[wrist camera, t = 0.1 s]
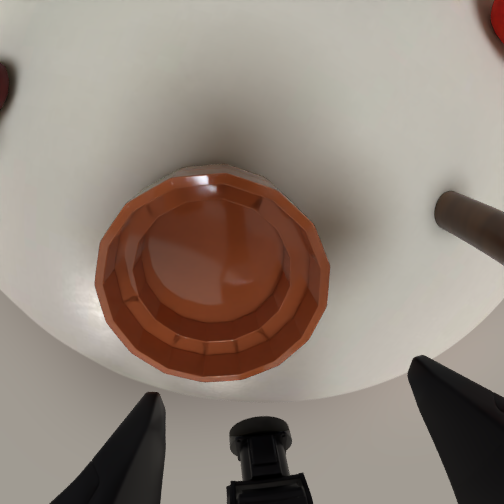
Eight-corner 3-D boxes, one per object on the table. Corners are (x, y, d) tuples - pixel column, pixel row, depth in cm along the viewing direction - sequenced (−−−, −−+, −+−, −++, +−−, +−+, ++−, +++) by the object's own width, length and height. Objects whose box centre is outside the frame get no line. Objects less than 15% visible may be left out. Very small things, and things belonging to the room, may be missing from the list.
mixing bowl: (302, 327, 26) (319, 370, 21) (142, 339, 25) (129, 383, 20) (306, 159, 20) (333, 168, 15) (107, 176, 19) (73, 191, 14)
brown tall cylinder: (458, 228, 24) (558, 290, 12) (432, 229, 24) (538, 300, 12) (463, 191, 22) (572, 241, 10) (436, 190, 22) (554, 244, 10)
